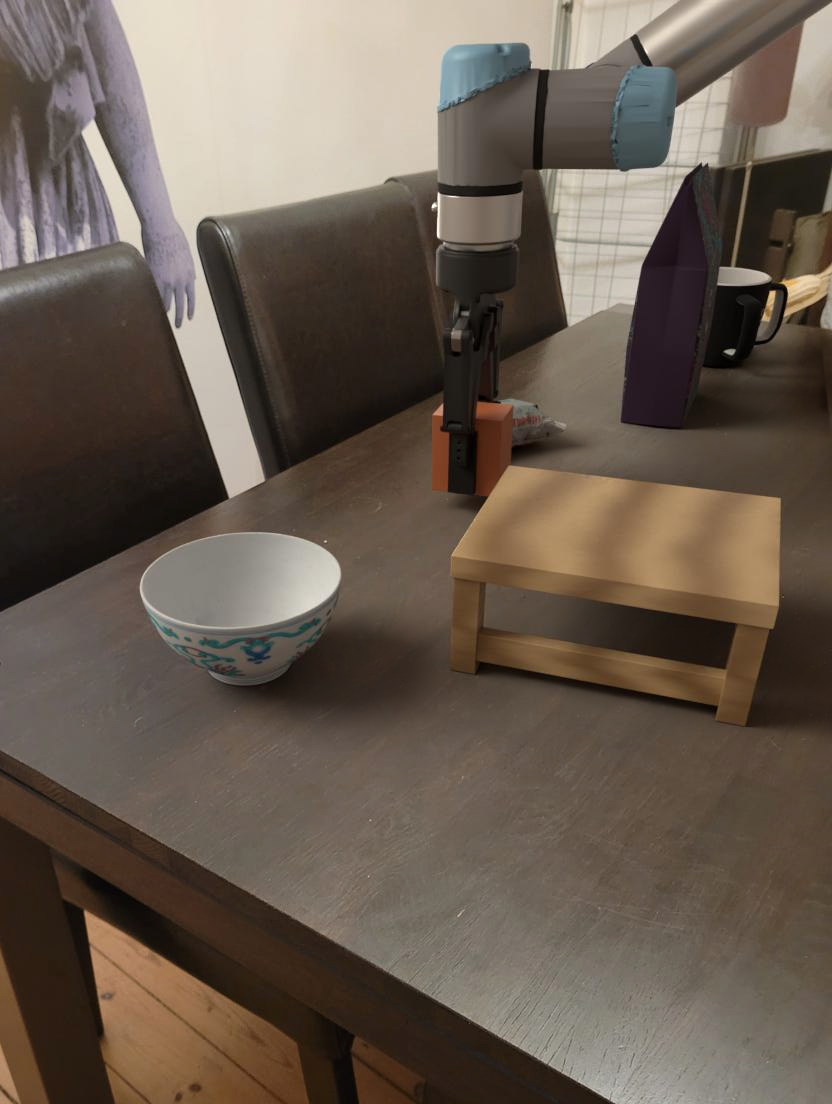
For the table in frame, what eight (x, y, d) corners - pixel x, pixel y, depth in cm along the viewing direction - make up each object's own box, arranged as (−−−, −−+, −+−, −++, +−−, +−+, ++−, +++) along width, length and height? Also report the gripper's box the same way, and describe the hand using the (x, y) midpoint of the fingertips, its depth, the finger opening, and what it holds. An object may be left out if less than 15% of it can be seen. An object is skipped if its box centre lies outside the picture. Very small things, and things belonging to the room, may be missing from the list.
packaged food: (563, 448, 113) (567, 407, 110) (479, 466, 109) (481, 424, 106) (520, 426, 120) (523, 387, 117) (439, 444, 115) (440, 403, 113)
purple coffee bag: (615, 423, 120) (648, 176, 105) (638, 385, 132) (670, 160, 117) (683, 431, 117) (726, 179, 102) (700, 392, 129) (740, 162, 114)
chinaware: (265, 595, 84) (259, 515, 80) (383, 663, 75) (383, 576, 71) (117, 660, 76) (101, 575, 72) (228, 746, 67) (218, 653, 62)
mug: (739, 383, 132) (756, 293, 126) (634, 362, 142) (646, 277, 135) (787, 357, 142) (806, 272, 136) (687, 339, 152) (700, 259, 145)
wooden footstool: (755, 606, 81) (781, 497, 76) (748, 728, 67) (779, 605, 62) (501, 567, 88) (508, 465, 83) (446, 670, 74) (451, 555, 69)
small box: (509, 479, 100) (513, 404, 96) (498, 497, 96) (501, 420, 92) (445, 472, 102) (446, 399, 98) (431, 490, 98) (432, 414, 94)
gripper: (464, 225, 95) (457, 447, 108) (407, 260, 81) (407, 512, 93) (539, 227, 93) (523, 454, 105) (494, 264, 79) (482, 522, 91)
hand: (468, 481), depth 99 cm, fingers closed on small box, 5 cm apart
